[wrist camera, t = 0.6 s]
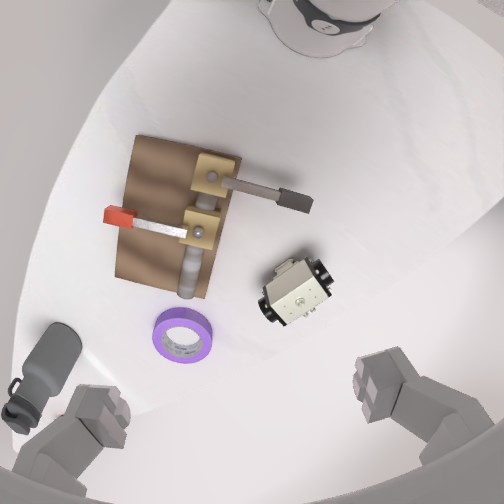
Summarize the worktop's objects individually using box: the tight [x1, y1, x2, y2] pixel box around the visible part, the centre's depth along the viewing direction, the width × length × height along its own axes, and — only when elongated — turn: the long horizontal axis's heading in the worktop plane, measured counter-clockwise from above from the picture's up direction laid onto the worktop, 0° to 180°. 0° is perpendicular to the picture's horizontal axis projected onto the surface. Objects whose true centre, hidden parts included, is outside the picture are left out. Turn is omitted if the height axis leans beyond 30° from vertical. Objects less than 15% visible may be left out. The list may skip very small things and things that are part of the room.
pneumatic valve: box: [258, 257, 334, 326], centre depth 47 cm, size 6×12×12 cm, turn 127°
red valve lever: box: [103, 205, 204, 239], centre depth 39 cm, size 2×14×3 cm, turn 74°
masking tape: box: [152, 307, 212, 364], centre depth 55 cm, size 12×12×4 cm
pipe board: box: [115, 135, 313, 299], centre depth 44 cm, size 25×27×10 cm
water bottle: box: [1, 323, 82, 435], centre depth 43 cm, size 10×10×28 cm
